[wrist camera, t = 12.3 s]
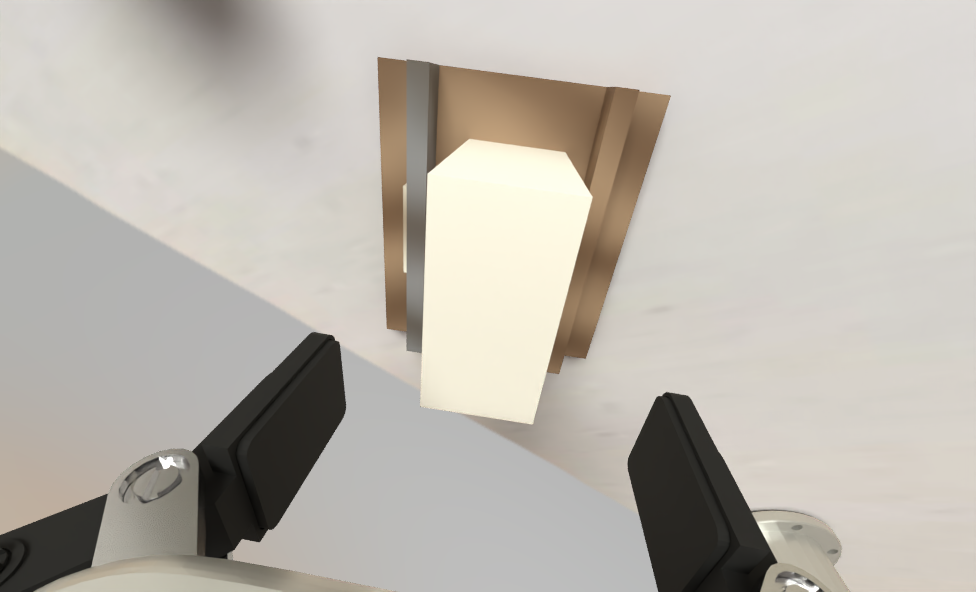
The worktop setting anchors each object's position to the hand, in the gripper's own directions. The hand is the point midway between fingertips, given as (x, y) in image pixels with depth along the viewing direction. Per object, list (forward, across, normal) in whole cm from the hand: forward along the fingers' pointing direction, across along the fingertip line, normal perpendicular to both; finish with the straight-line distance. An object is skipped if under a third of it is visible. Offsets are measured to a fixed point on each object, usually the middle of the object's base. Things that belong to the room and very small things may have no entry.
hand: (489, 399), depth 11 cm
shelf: (+14, +1, -1) cm, 14 cm away
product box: (+12, +1, -1) cm, 12 cm away
